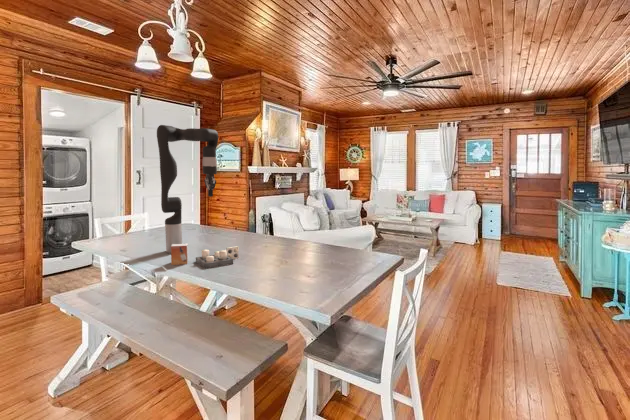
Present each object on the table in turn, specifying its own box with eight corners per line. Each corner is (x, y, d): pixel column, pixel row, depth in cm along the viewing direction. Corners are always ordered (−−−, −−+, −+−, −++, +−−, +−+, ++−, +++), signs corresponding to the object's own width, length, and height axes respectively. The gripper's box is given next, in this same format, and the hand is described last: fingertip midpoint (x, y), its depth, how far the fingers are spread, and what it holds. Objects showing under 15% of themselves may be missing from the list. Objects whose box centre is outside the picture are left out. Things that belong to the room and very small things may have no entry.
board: (195, 262, 184) (195, 257, 184) (222, 258, 193) (222, 253, 193) (205, 269, 172) (205, 263, 172) (233, 264, 181) (233, 259, 181)
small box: (171, 266, 178) (170, 246, 176) (172, 263, 183) (171, 243, 182) (187, 265, 180) (186, 245, 179) (188, 262, 185) (187, 243, 184)
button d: (213, 259, 188) (213, 251, 187) (220, 258, 190) (220, 250, 189) (216, 261, 185) (215, 253, 184) (222, 260, 187) (222, 252, 186)
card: (225, 259, 191) (224, 247, 190) (236, 257, 195) (236, 245, 195) (227, 260, 189) (227, 248, 188) (239, 258, 193) (238, 246, 192)
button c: (200, 258, 183) (200, 250, 183) (207, 257, 186) (207, 249, 185) (203, 259, 180) (202, 251, 180) (210, 258, 182) (210, 250, 182)
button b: (218, 259, 182) (218, 251, 181) (225, 257, 184) (224, 250, 184) (221, 260, 179) (220, 252, 178) (227, 259, 181) (227, 251, 181)
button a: (205, 264, 178) (205, 256, 177) (212, 263, 180) (212, 255, 180) (208, 266, 175) (207, 258, 174) (215, 265, 177) (215, 256, 177)
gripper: (199, 165, 193) (199, 196, 195) (207, 165, 182) (208, 197, 184) (212, 165, 197) (212, 195, 199) (220, 165, 187) (221, 197, 189)
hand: (210, 196), depth 192 cm, fingers closed
